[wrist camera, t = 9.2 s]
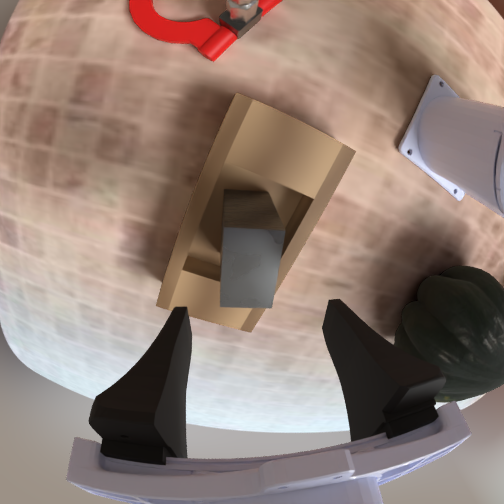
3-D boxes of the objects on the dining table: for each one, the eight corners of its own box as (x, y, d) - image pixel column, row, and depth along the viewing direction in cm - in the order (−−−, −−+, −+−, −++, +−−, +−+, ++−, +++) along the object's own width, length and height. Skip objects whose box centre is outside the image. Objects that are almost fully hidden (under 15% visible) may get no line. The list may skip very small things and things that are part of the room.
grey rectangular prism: (268, 191, 19) (285, 230, 14) (260, 255, 21) (271, 308, 16) (224, 188, 19) (223, 227, 13) (220, 253, 21) (219, 307, 16)
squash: (352, 381, 25) (454, 450, 17) (438, 252, 18) (557, 342, 11) (388, 327, 35) (464, 380, 28) (442, 234, 29) (527, 293, 21)
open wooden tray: (338, 143, 19) (356, 151, 16) (248, 308, 25) (250, 332, 23) (235, 93, 16) (236, 92, 14) (162, 282, 23) (155, 305, 21)
